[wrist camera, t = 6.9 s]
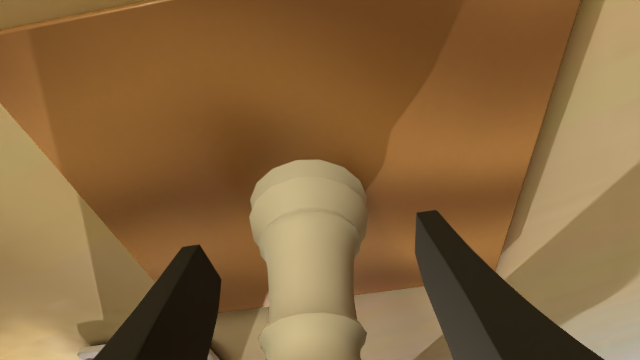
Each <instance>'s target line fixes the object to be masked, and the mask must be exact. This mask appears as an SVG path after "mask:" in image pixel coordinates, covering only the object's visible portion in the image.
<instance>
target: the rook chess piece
mask: <svg viewBox="0 0 640 360" xmlns="http://www.w3.org/2000/svg"><path fill="white" fill-rule="evenodd" d="M366 199H367V196H366V194H365V191H364V189H363V187H362V184H361V182H360V180H359V179H358V178H356V177H355V176H354V175H353V174H352V173H350V172H349V171H348V170H347V169H346V168H344V167H342V166H339V165H335V164H332V163H329V162H326V161H323V160H319V159H316V160H295V161H292V162H290V163H287V164H284V165H281V166H279V167H276V168H273V169H272V170H271V171H269V172H268V173H267V174H266V175H265V176H264V177H263V178H262V179H260V180H259V181H258V182H257V183H256V186H255V189H254V191H253V194H252V196H251V199H250V202H251V207H252V211H251V213H250V216H249V219H250V224H251V229H252V235H253V239H254V242H255V243H256V244H257V245H258V246H259V249H260V255H261V257H262V258H263V259H264V260H265V261H266V263H267V268H268V284H269V300H270V302H269V314H268V325H267V326H266V327H265V328H264V330H263V331H262V333H261V334H260V336H259V342H260V347H261V349H262V350H263V351H264V353H265V354H266V360H361V358H360V350H361V348H362V347H363V345H364V343H365V339H366V335H367V333H366V331H365V330H364V328H363V327H362V325H361V324H360V323H359V322H358V321H357V317H356V310H355V303H354V259H355V258H356V256H357V255H358V254H359V253H360V246H361V242H362V241H363V240H364V238H365V236H366V230H367V223H368V216H369V213H368V211H367V208H366Z"/></svg>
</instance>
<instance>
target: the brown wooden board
mask: <svg viewBox="0 0 640 360" xmlns="http://www.w3.org/2000/svg"><path fill="white" fill-rule="evenodd" d="M580 2H581V0H147V1H142V2H137V3H132V4H127V5H122V6H117V7H112V8H107V9H102V10H97V11H92V12H88V13H83V14H78V15H73V16H68V17H63V18H58V19H53V20H48V21H43V22H38V23H33V24H28V25H23V26H18V27H13V28H8V29H3V30H0V103H1V104H2V106H3V107H4V108H5V109H6V110H7V111H8V112H9V114H10V115H11V116H12V117H13V118H14V119H15V121H16V122H17V123H18V124H19V125H20V126H21V127H22V129H23V130H24V131H25V132H26V133H27V134H28V136H29V137H30V138H31V139H32V140H33V141H34V142H35V144H36V145H37V146H38V147H39V148H40V149H41V151H42V152H43V153H44V154H45V155H46V156H47V157H48V159H49V160H50V161H51V162H52V163H53V164H54V166H55V167H56V168H57V169H58V170H59V171H60V173H61V174H62V175H63V176H64V177H65V178H66V179H67V181H68V182H69V183H70V184H71V185H72V186H73V188H74V189H75V190H76V191H77V192H78V193H79V194H80V196H81V197H82V198H83V199H84V200H85V201H86V203H87V204H88V205H89V206H90V207H91V208H92V209H93V211H94V212H95V213H96V214H97V215H98V216H99V218H100V219H101V220H102V221H103V222H104V223H105V224H106V226H107V227H108V228H109V229H110V230H111V231H112V233H113V234H114V235H115V236H116V237H117V238H118V239H119V241H120V242H121V243H122V244H123V245H124V246H125V248H126V249H127V250H128V251H129V252H130V253H131V254H132V256H133V257H134V258H135V259H136V260H137V261H138V263H139V264H140V265H141V266H142V267H143V268H144V269H145V271H146V272H147V273H148V274H149V275H150V276H151V278H152V279H153V280H154V281H155V282H156V281H157V280H158V279H159V277H160V276H161V275H162V273H163V272H164V270H165V269H166V268H167V266H168V265H169V264H170V262H171V261H172V260H173V258H174V257H175V256H176V254H177V253H178V252H179V251H180V249H181V248H182V247H185V246H192V245H199V244H200V246H201V247H202V249H203V250H204V252H205V254H206V255H207V257H208V258H209V260H210V262H211V263H212V265H213V266H214V268H215V270H216V271H217V273H218V274H219V276H220V278H221V279H222V280H221V292H220V302H219V310H218V313H222V312H230V311H238V310H245V309H253V308H261V307H268V306H269V302H270V300H269V284H268V268H267V263H266V261H265V260H264V259H263V258H262V257H261V255H260V249H259V246H258V245H257V244H256V243H255V242H254V239H253V235H252V229H251V224H250V219H249V216H250V213H251V211H252V207H251V202H250V199H251V196H252V194H253V191H254V189H255V186H256V183H257V182H258V181H259V180H260V179H262V178H263V177H264V176H265V175H266V174H267V173H268V172H269V171H271V170H272V169H273V168H276V167H279V166H281V165H284V164H287V163H290V162H292V161H295V160H316V159H319V160H323V161H326V162H329V163H332V164H335V165H339V166H342V167H344V168H346V169H347V170H348V171H349V172H350V173H352V174H353V175H354V176H355V177H356V178H358V179H359V180H360V182H361V184H362V187H363V189H364V191H365V194H366V196H367V199H366V208H367V211H368V213H369V216H368V223H367V230H366V236H365V238H364V240H363V241H362V242H361V246H360V253H359V254H358V255H357V256H356V258H355V259H354V295H360V294H368V293H376V292H383V291H391V290H399V289H406V288H414V287H422V286H424V284H423V281H422V277H421V274H420V270H419V267H418V263H417V259H416V256H415V233H416V213H417V212H424V211H431V210H437V211H438V212H439V213H440V214H441V215H442V216H443V218H444V219H445V220H446V221H447V222H448V223H449V225H450V226H451V227H452V228H453V229H454V230H455V231H456V232H457V234H458V235H459V236H460V237H461V238H462V239H463V240H464V241H465V242H466V243H467V244H468V245H469V246H470V247H471V248H472V249H473V251H474V252H475V253H476V254H477V255H478V256H479V257H480V258H481V259H482V260H483V261H484V262H485V263H487V264H488V265H489V266H490V267H491V268H492V269H493V270H494V271H496V267H497V264H498V261H499V258H500V255H501V252H502V248H503V245H504V242H505V239H506V236H507V233H508V230H509V226H510V223H511V220H512V217H513V214H514V211H515V207H516V204H517V201H518V198H519V195H520V192H521V189H522V185H523V182H524V179H525V176H526V173H527V170H528V166H529V163H530V160H531V157H532V154H533V151H534V148H535V144H536V141H537V138H538V135H539V132H540V129H541V125H542V122H543V119H544V116H545V113H546V110H547V107H548V103H549V100H550V97H551V94H552V91H553V88H554V84H555V81H556V78H557V75H558V72H559V69H560V66H561V62H562V59H563V56H564V53H565V50H566V47H567V43H568V40H569V37H570V34H571V31H572V28H573V25H574V21H575V18H576V15H577V12H578V9H579V6H580Z"/></svg>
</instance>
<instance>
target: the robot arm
mask: <svg viewBox="0 0 640 360" xmlns="http://www.w3.org/2000/svg"><path fill="white" fill-rule="evenodd" d="M415 256H416V259H417V263H418V267H419V270H420V274H421V277H422V281H423V284H424V286H425V289H426V291H427V294H428V296H429V299H430V301H431V304H432V306H433V309H434V311H435V314H436V316H437V319H438V321H439V324H440V326H441V329H442V331H443V334H444V336H445V339H446V341H447V344H448V346H449V349H450V351H451V354H452V357H453V360H604V359H603V358H601V357H600V356H598V355H597V354H596V353H594V352H593V351H591V350H590V349H588V348H587V347H586V346H584V345H583V344H581V343H580V342H579V341H577V340H576V339H575V338H573V337H572V336H571V335H569V334H568V333H567V332H566V331H564V330H563V329H562V328H560V327H559V326H558V325H556V324H555V323H554V322H553V321H551V320H550V319H549V318H548V317H546V316H545V315H544V314H543V313H541V312H540V311H539V310H538V309H536V308H535V307H534V306H533V305H532V304H530V303H529V302H528V301H527V300H526V299H525V298H523V297H522V296H521V295H520V294H519V293H518V292H517V291H515V290H514V289H513V288H512V287H511V286H510V285H509V284H508V283H507V282H505V281H504V280H503V279H502V278H501V277H500V276H499V275H498V274H497V273H496V272H495V271H494V270H493V269H492V268H491V267H490V266H489V265H488V264H487V263H485V262H484V261H483V260H482V259H481V258H480V257H479V256H478V255H477V254H476V253H475V252H474V251H473V249H472V248H471V247H470V246H469V245H468V244H467V243H466V242H465V241H464V240H463V239H462V238H461V237H460V236H459V235H458V234H457V232H456V231H455V230H454V229H453V228H452V227H451V226H450V225H449V223H448V222H447V221H446V220H445V219H444V218H443V216H442V215H441V214H440V213H439V212H438V211H437V210H431V211H424V212H417V213H416V233H415ZM221 280H222V279H221V278H220V276H219V274H218V273H217V271H216V270H215V268H214V266H213V265H212V263H211V262H210V260H209V258H208V257H207V255H206V254H205V252H204V250H203V249H202V247H201V246H200V244H199V245H192V246H185V247H182V248H181V249H180V251H179V252H178V253H177V254H176V256H175V257H174V258H173V260H172V261H171V262H170V264H169V265H168V266H167V268H166V269H165V270H164V272H163V273H162V275H161V276H160V277H159V279H158V280H157V281H156V283H155V284H154V285H153V287H152V288H151V289H150V290H149V292H148V293H147V294H146V296H145V297H144V298H143V300H142V301H141V302H140V303H139V305H138V306H137V307H136V309H135V310H134V311H133V312H132V314H131V315H130V316H129V317H128V318H127V320H126V321H125V322H124V323H123V324H122V326H121V327H120V328H119V329H118V331H117V332H116V333H115V334H114V335H113V337H112V338H111V339H110V340H109V341H108V343H107V344H104V345H96V346H88V347H82V348H81V349H80V350H79V352H78V354H77V355H78V357H79V358H81V359H83V360H220V359H219V358H218V357H217V356H216V355H215V353H214V352H213V351H212V350H211V349H210V346H211V342H212V337H213V333H214V328H215V324H216V319H217V315H218V310H219V302H220V292H221Z"/></svg>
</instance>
